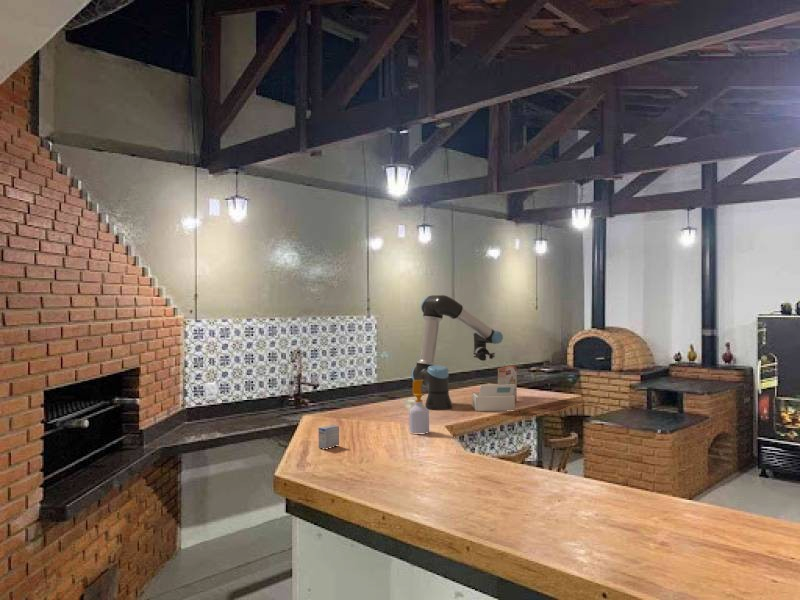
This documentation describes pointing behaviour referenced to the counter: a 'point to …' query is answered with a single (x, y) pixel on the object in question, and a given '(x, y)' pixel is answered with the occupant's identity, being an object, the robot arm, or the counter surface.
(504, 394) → the front flap
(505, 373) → the cracker box
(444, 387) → the robot arm
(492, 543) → the counter surface
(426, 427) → the soap bottle
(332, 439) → the medicine box
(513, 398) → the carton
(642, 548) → the counter surface
